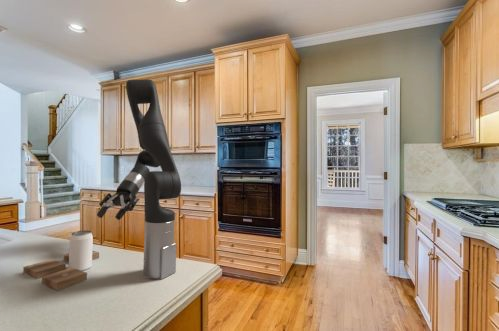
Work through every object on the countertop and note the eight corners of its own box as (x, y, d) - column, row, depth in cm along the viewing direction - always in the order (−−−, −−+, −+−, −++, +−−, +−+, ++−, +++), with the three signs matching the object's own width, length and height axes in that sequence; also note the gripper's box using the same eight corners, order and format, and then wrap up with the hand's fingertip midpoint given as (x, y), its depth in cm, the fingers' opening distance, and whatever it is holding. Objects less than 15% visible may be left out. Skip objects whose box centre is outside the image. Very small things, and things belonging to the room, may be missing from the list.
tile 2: (65, 269, 84) (65, 263, 84) (36, 278, 76) (36, 272, 77) (52, 264, 87) (52, 258, 87) (23, 273, 80) (23, 266, 80)
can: (67, 273, 81) (68, 235, 81) (70, 266, 86) (71, 231, 87) (90, 270, 84) (92, 233, 84) (92, 263, 89) (93, 229, 90)
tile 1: (86, 279, 77) (87, 272, 77) (57, 290, 70) (57, 283, 70) (71, 273, 81) (71, 267, 81) (41, 283, 73) (41, 276, 73)
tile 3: (99, 257, 95) (99, 252, 95) (76, 264, 88) (76, 259, 88) (85, 254, 98) (86, 248, 98) (63, 260, 91) (63, 254, 91)
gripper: (112, 178, 106) (87, 210, 95) (141, 180, 102) (118, 213, 91) (121, 190, 111) (98, 221, 100) (149, 192, 107) (128, 225, 96)
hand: (108, 217), depth 96 cm, fingers open, 8 cm apart
